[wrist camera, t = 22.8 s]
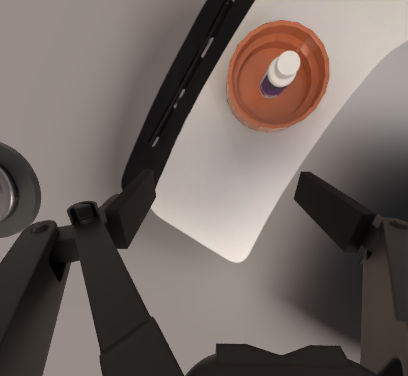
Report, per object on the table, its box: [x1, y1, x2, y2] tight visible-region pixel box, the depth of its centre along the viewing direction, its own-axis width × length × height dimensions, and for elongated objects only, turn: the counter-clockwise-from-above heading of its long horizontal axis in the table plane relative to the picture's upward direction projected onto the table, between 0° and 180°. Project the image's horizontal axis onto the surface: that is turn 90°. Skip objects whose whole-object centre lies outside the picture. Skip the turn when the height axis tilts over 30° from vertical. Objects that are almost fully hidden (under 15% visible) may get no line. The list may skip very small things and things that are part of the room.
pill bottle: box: [259, 51, 300, 99], centre depth 30 cm, size 5×5×8 cm
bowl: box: [226, 20, 329, 132], centre depth 33 cm, size 17×17×4 cm
